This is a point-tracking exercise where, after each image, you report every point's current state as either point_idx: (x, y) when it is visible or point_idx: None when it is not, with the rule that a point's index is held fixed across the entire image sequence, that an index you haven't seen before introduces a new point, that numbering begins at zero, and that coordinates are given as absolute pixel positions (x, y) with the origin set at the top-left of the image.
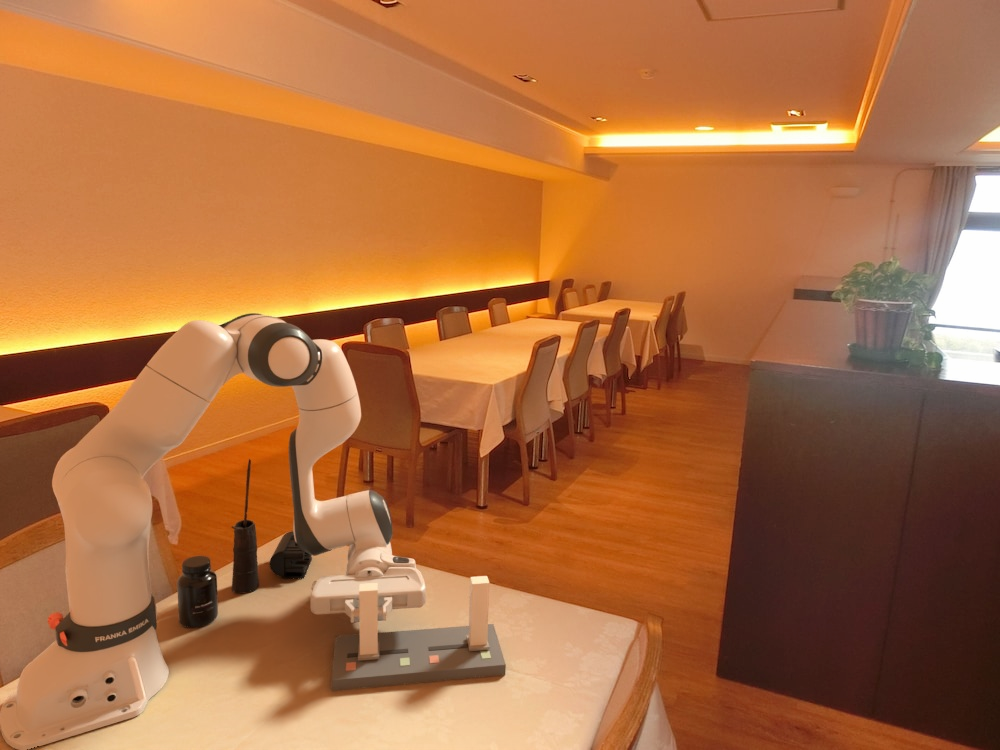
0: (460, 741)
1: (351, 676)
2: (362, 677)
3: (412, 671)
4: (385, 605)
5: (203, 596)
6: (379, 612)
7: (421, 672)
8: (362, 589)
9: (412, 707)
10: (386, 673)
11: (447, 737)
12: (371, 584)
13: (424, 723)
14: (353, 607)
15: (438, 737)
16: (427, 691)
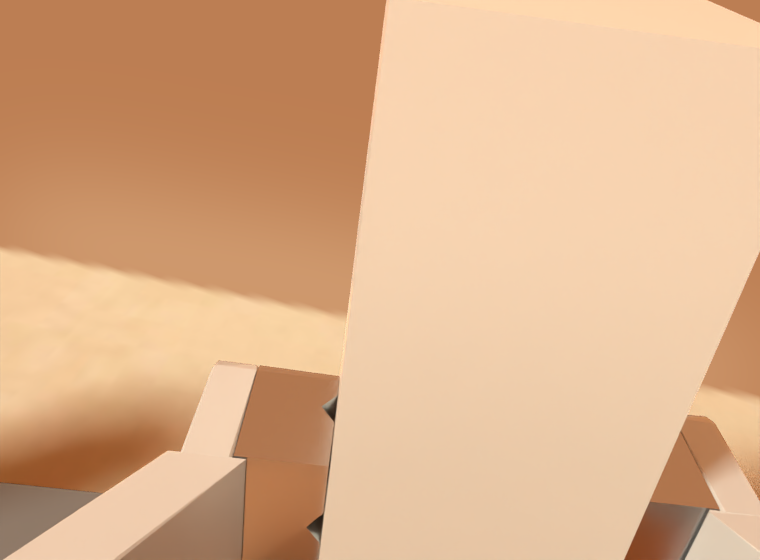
0: (52, 259)
1: None
2: None
3: (70, 505)
4: (186, 460)
5: None
6: (312, 377)
7: (13, 486)
8: (672, 1)
9: (160, 405)
10: None
11: (88, 277)
12: (534, 10)
13: (144, 333)
14: (747, 533)
15: (120, 283)
16: (28, 474)
